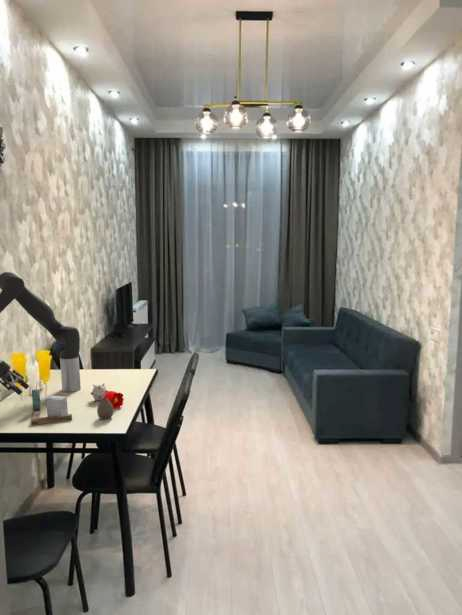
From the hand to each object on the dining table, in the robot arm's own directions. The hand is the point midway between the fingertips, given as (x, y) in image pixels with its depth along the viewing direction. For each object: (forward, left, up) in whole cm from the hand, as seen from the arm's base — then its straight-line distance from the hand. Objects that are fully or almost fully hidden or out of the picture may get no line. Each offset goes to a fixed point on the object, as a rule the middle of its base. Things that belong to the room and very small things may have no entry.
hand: (24, 390), depth 226 cm
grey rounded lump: (+20, +34, -11) cm, 41 cm away
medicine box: (+10, +14, -11) cm, 20 cm away
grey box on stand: (+9, +11, -10) cm, 18 cm away
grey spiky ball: (-6, +33, -11) cm, 35 cm away
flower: (+6, +38, -11) cm, 40 cm away
